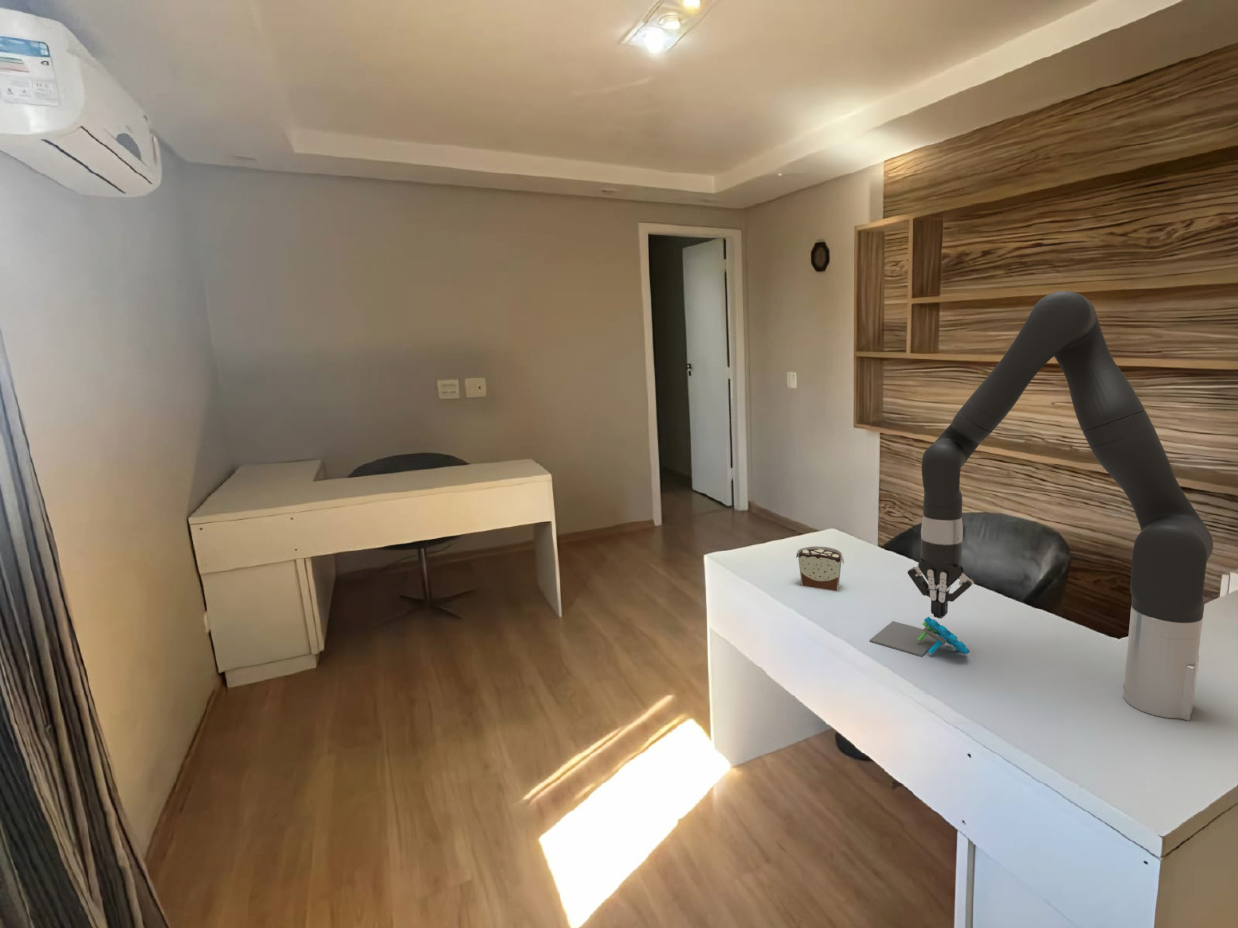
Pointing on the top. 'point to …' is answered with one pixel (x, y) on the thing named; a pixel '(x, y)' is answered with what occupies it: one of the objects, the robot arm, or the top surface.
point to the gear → (941, 636)
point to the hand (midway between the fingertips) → (938, 616)
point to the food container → (820, 567)
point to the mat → (904, 638)
